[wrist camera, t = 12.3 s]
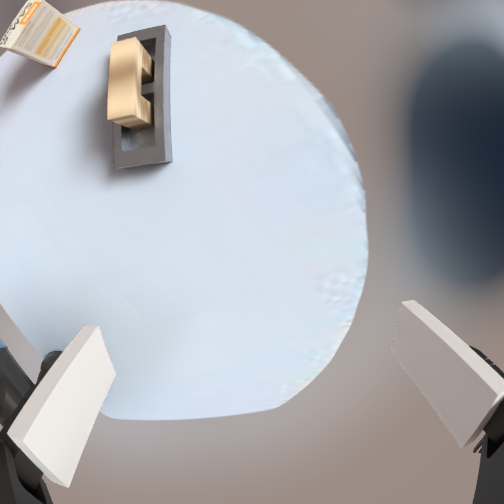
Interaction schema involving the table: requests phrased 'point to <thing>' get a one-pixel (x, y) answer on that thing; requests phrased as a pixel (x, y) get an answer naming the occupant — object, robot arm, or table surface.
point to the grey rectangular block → (158, 94)
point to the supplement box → (40, 33)
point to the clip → (129, 85)
